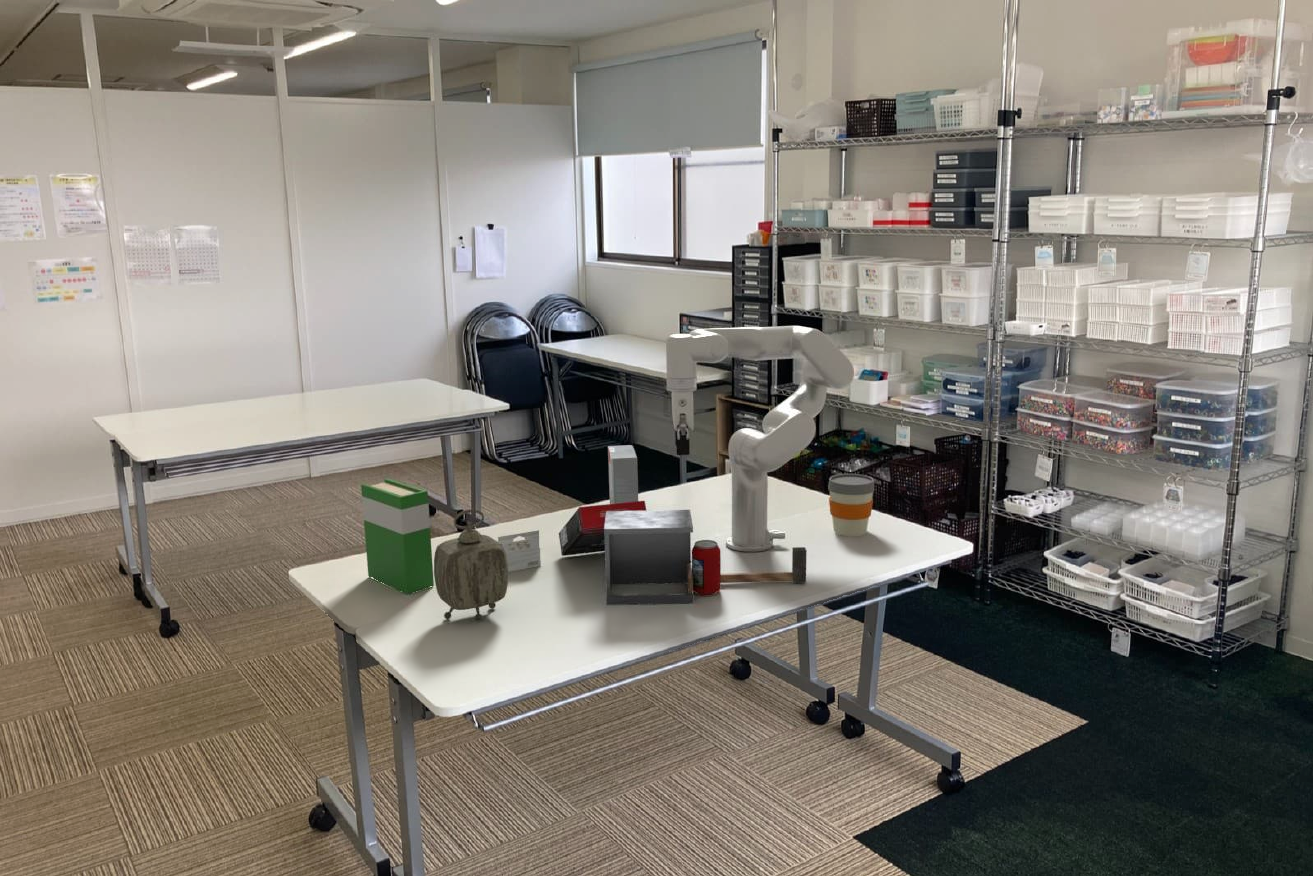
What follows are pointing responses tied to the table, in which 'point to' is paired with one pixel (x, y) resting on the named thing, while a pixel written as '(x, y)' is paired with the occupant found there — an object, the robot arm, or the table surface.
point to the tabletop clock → (470, 570)
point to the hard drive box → (622, 474)
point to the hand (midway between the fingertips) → (682, 450)
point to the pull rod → (794, 576)
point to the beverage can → (706, 567)
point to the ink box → (521, 550)
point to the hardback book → (398, 535)
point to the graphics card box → (590, 527)
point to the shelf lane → (647, 553)
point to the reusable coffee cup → (850, 503)
